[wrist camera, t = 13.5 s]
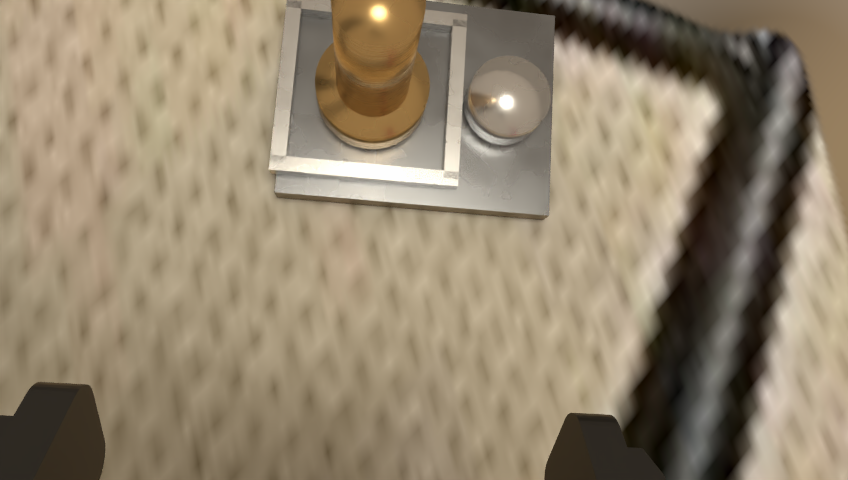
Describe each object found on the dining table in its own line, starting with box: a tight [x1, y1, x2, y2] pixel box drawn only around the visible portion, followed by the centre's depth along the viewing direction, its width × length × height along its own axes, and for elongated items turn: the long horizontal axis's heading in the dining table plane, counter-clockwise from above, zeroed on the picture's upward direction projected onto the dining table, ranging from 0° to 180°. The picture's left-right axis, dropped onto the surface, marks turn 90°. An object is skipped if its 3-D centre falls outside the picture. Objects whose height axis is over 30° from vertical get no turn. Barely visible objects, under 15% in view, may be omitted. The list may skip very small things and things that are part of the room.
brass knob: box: [315, 0, 430, 149], centre depth 30 cm, size 6×6×10 cm
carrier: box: [269, 0, 555, 220], centre depth 35 cm, size 15×12×3 cm
